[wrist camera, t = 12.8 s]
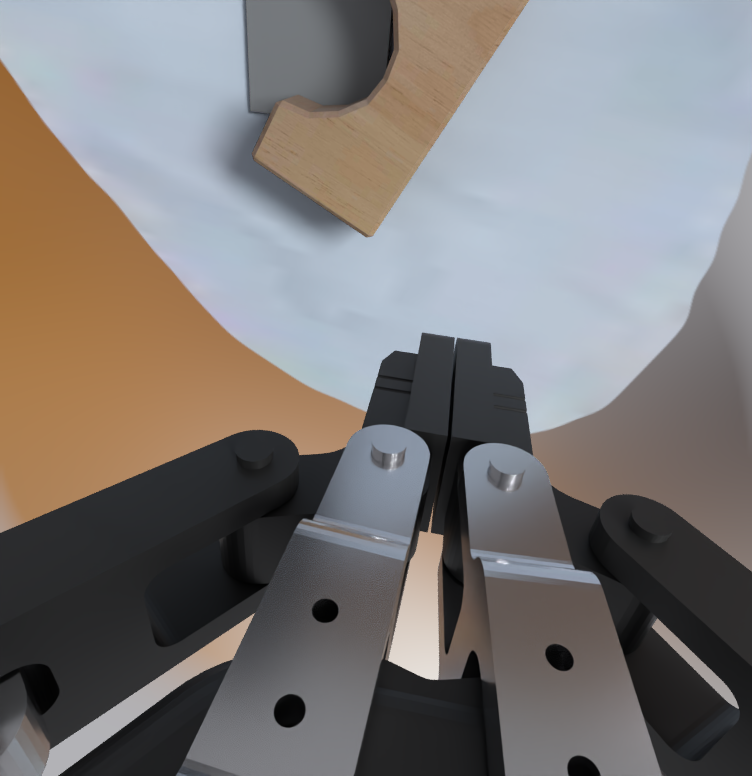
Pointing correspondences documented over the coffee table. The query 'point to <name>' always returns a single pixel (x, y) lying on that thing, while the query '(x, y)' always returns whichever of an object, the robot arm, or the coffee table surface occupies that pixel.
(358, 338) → the coffee table surface
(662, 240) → the coffee table surface
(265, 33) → the mat
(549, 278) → the coffee table surface
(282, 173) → the decorative block
